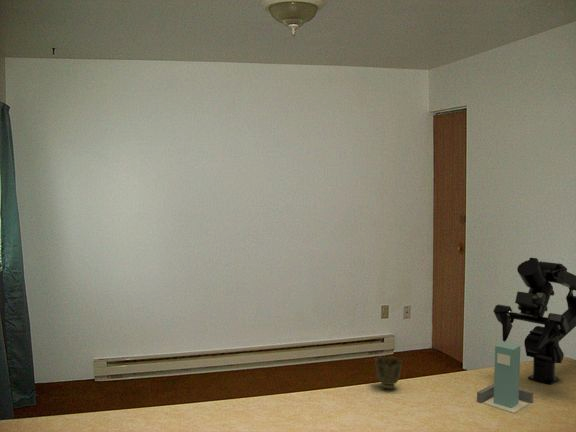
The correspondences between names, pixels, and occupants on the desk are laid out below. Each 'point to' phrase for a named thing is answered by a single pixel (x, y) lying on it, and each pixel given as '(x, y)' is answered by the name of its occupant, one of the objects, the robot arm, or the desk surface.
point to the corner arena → (489, 393)
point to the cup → (388, 371)
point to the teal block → (506, 374)
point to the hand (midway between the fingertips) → (520, 344)
